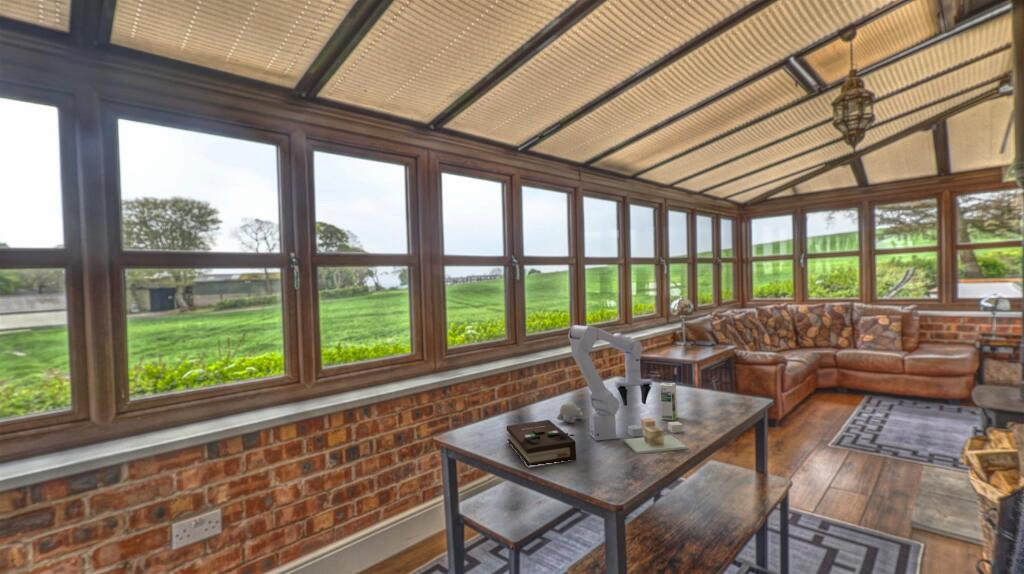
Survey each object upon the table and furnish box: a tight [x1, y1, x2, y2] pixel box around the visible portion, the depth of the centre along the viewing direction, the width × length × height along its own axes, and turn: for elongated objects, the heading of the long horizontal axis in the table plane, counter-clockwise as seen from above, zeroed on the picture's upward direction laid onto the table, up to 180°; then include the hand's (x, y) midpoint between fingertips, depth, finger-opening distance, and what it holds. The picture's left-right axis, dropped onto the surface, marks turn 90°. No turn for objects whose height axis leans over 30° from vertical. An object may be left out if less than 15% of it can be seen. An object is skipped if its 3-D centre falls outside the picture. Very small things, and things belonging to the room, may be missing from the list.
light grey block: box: [667, 421, 684, 434], centre depth 172 cm, size 4×4×3 cm
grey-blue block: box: [627, 424, 644, 438], centre depth 170 cm, size 4×4×3 cm
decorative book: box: [506, 419, 577, 466], centre depth 159 cm, size 19×8×30 cm
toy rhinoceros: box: [556, 401, 583, 424], centre depth 190 cm, size 7×12×8 cm, turn 124°
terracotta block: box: [640, 417, 656, 429], centre depth 178 cm, size 4×4×3 cm
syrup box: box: [659, 382, 678, 422], centre depth 188 cm, size 6×6×14 cm
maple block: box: [643, 425, 665, 446], centre depth 159 cm, size 5×5×5 cm
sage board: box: [622, 434, 688, 455], centre depth 159 cm, size 18×12×1 cm, turn 97°
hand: (634, 404), depth 178 cm, fingers open, 7 cm apart
